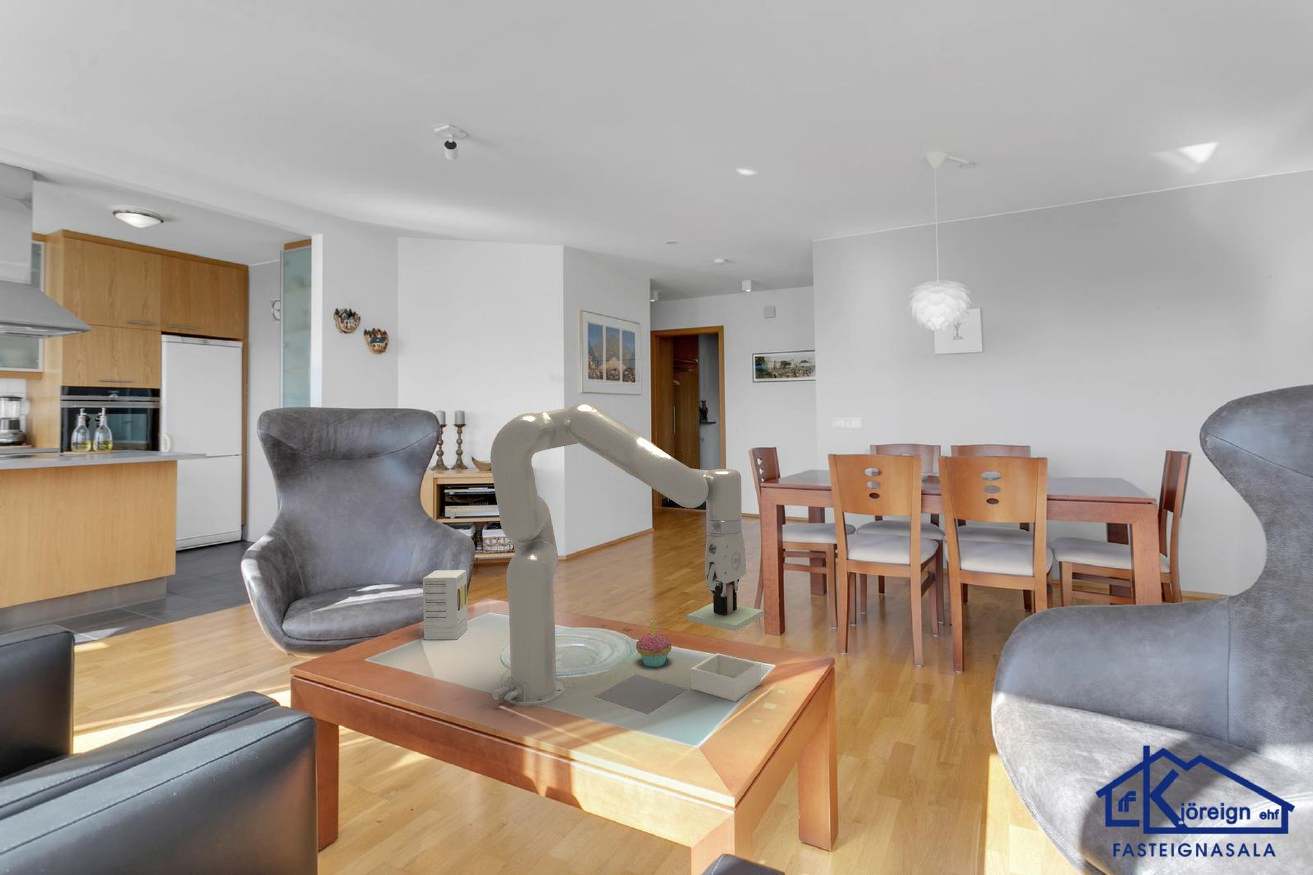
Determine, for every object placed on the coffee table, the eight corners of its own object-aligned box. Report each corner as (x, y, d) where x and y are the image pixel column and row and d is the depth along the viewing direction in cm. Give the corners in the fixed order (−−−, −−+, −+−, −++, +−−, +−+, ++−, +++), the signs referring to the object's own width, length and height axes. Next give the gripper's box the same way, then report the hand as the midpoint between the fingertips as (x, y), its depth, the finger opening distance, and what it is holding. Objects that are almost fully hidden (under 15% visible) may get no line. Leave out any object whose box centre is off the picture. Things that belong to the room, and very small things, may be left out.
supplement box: (457, 640, 172) (456, 577, 172) (423, 640, 172) (421, 578, 172) (468, 628, 182) (467, 569, 181) (435, 628, 182) (434, 569, 181)
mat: (647, 716, 127) (647, 713, 127) (594, 698, 135) (594, 696, 135) (687, 691, 138) (687, 689, 138) (636, 676, 146) (636, 674, 146)
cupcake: (668, 672, 148) (667, 621, 148) (632, 670, 150) (631, 619, 150) (674, 659, 157) (673, 610, 156) (640, 656, 158) (639, 608, 158)
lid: (736, 630, 130) (735, 595, 130) (686, 620, 137) (686, 587, 137) (763, 615, 140) (763, 582, 140) (716, 606, 147) (715, 575, 147)
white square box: (735, 704, 132) (735, 680, 131) (690, 691, 138) (690, 668, 138) (760, 686, 140) (760, 663, 140) (717, 674, 147) (717, 652, 147)
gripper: (719, 534, 129) (720, 625, 130) (757, 522, 142) (758, 605, 143) (688, 531, 134) (689, 618, 134) (728, 520, 147) (729, 599, 147)
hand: (725, 610), depth 139 cm, fingers closed on lid, 3 cm apart
